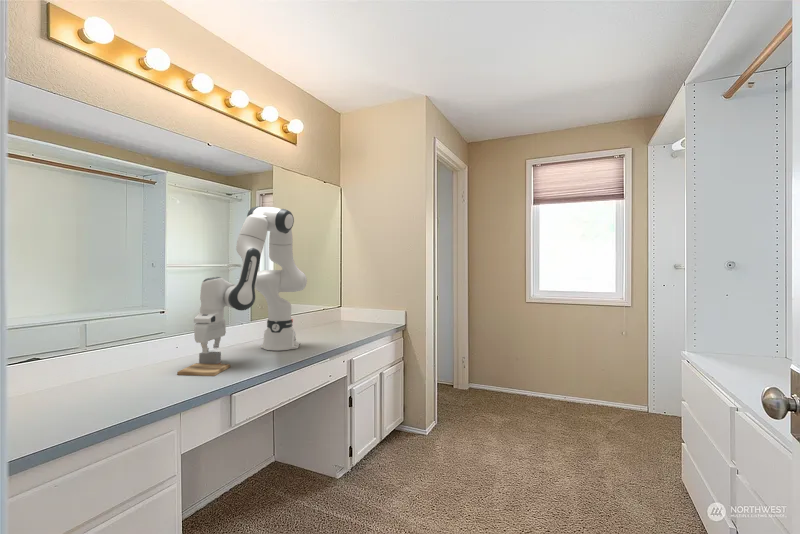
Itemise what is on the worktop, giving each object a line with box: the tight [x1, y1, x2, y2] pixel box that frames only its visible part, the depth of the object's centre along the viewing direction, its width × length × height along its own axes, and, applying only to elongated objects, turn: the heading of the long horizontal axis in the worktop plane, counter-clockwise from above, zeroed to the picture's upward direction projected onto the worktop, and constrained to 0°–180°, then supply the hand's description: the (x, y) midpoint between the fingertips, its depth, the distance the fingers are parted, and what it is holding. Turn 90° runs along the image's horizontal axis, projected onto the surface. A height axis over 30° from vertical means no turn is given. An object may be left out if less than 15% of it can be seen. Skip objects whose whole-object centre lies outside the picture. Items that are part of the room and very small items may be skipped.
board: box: [176, 362, 231, 377], centre depth 157 cm, size 13×14×1 cm
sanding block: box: [198, 351, 222, 364], centre depth 167 cm, size 4×7×5 cm, turn 88°
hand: (210, 350), depth 166 cm, fingers open, 8 cm apart
